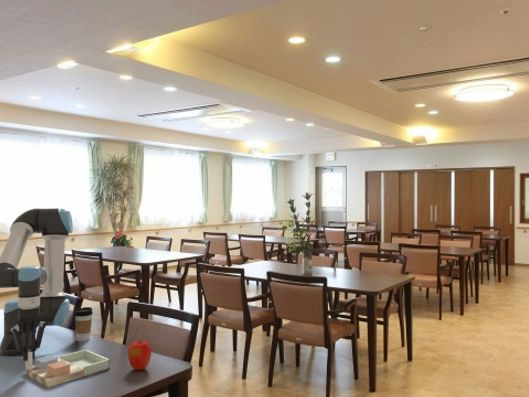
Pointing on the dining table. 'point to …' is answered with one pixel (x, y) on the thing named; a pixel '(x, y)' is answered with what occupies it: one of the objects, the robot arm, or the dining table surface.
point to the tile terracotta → (58, 368)
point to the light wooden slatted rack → (51, 380)
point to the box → (87, 361)
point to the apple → (139, 355)
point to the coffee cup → (83, 323)
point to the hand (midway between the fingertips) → (28, 368)
